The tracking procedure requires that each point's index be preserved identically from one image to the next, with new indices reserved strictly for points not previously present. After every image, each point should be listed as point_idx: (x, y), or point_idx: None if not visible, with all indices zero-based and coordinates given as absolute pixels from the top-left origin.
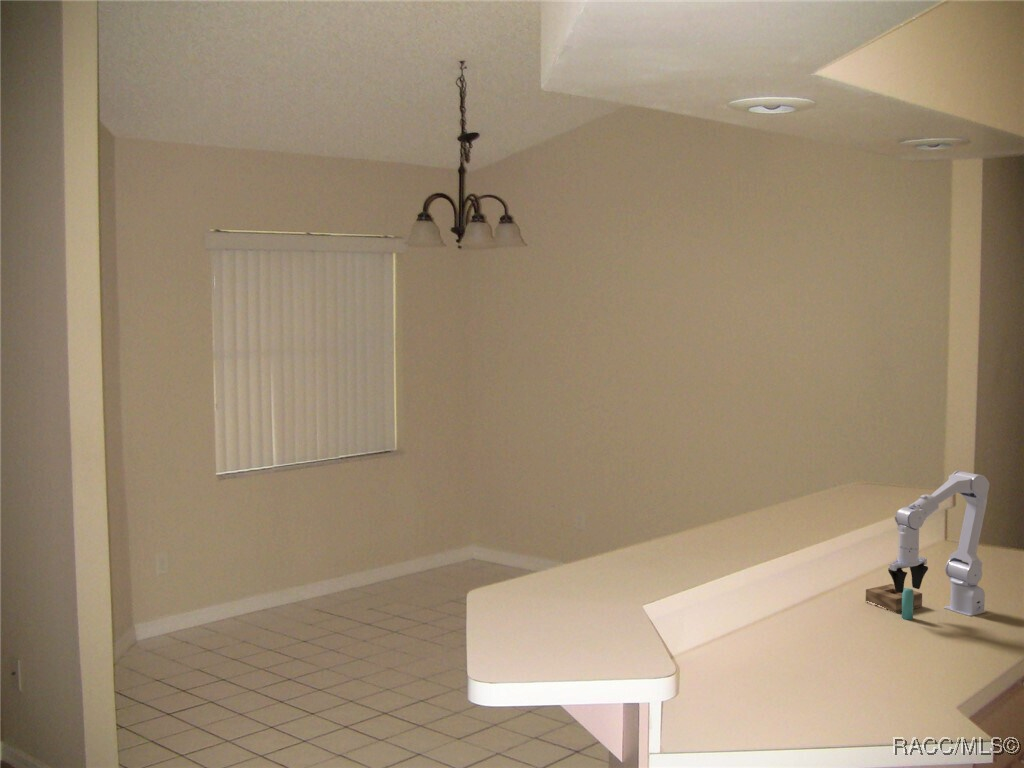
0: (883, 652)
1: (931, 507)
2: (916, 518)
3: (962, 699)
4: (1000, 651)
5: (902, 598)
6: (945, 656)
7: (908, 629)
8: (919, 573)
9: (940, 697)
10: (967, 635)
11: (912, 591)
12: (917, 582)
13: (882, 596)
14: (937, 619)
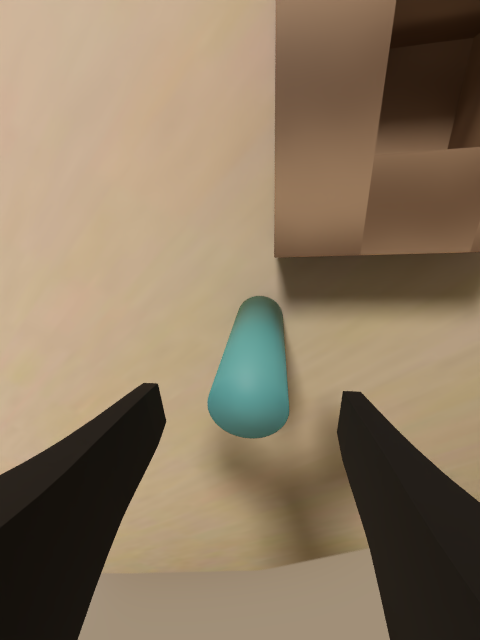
0: (4, 443)
1: None
2: None
3: None
4: (259, 552)
5: (223, 354)
6: (126, 512)
7: (174, 385)
8: (400, 627)
9: None
10: (292, 487)
11: (253, 435)
12: (354, 476)
13: (275, 119)
14: (360, 376)
